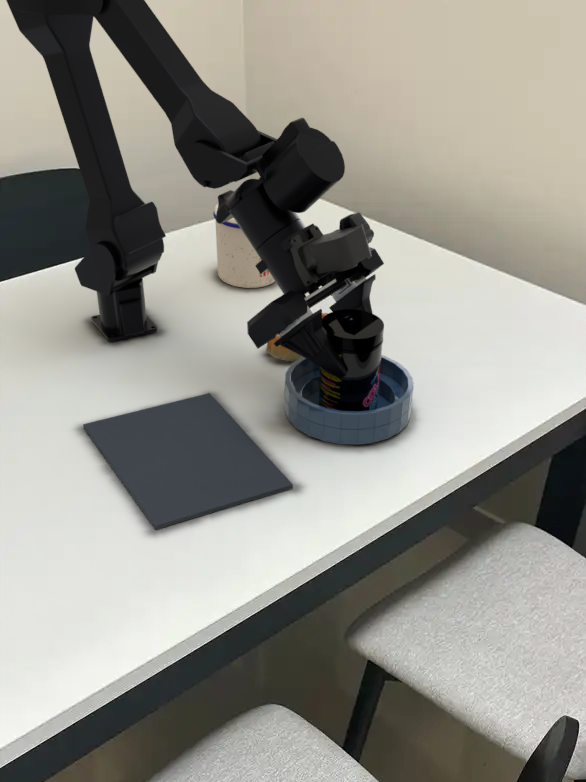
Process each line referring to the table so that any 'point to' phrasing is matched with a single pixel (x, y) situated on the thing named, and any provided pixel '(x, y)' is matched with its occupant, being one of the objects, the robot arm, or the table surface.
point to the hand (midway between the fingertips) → (361, 363)
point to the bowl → (348, 423)
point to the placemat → (185, 459)
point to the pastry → (283, 349)
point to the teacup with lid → (238, 257)
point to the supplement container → (353, 360)
